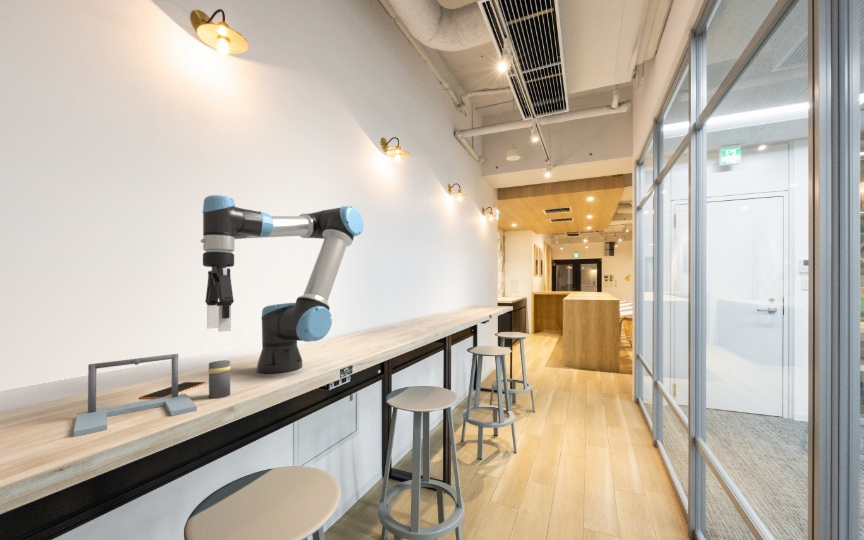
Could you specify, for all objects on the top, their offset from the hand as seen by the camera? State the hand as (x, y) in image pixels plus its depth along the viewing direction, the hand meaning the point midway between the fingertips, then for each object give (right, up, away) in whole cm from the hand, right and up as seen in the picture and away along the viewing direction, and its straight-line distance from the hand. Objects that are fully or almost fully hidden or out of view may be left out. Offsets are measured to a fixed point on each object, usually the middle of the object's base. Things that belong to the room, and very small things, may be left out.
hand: (218, 329), depth 100 cm
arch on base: (-11, -18, -14) cm, 25 cm away
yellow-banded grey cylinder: (+1, -18, -1) cm, 18 cm away
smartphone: (-17, -19, +6) cm, 26 cm away
